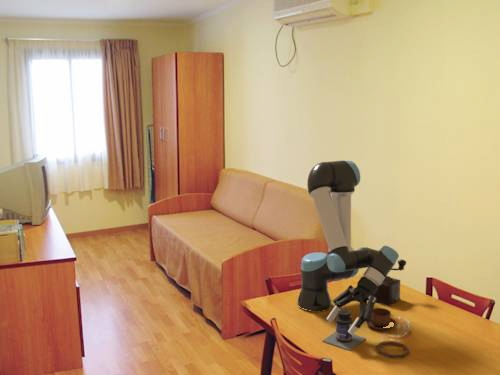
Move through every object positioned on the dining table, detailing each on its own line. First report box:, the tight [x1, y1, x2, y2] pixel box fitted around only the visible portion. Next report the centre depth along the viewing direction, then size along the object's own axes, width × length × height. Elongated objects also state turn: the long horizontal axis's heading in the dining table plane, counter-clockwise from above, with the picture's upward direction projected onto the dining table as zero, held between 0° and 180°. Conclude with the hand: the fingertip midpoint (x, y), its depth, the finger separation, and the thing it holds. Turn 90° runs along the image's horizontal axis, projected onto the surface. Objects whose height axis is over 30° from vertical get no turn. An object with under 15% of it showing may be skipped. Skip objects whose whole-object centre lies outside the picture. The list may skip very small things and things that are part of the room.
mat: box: [322, 331, 367, 352], centre depth 193 cm, size 12×12×1 cm
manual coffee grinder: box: [373, 259, 407, 306], centre depth 232 cm, size 16×11×18 cm
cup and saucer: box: [365, 307, 397, 331], centre depth 205 cm, size 12×12×6 cm
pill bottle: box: [335, 309, 353, 342], centre depth 192 cm, size 6×6×11 cm
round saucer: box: [375, 340, 410, 359], centre depth 184 cm, size 11×11×1 cm
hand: (339, 327), depth 191 cm, fingers open, 12 cm apart
